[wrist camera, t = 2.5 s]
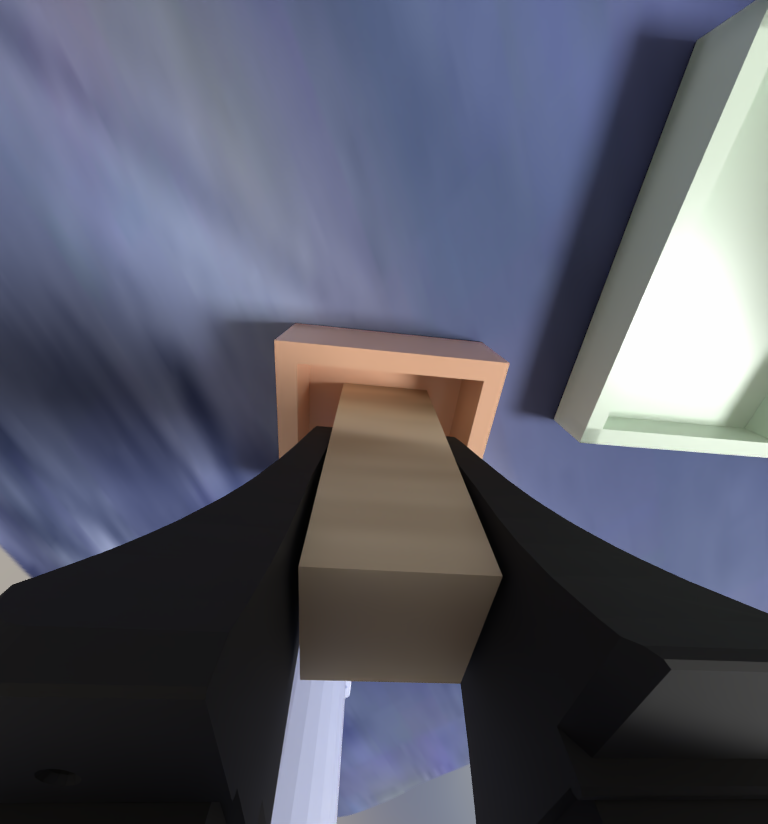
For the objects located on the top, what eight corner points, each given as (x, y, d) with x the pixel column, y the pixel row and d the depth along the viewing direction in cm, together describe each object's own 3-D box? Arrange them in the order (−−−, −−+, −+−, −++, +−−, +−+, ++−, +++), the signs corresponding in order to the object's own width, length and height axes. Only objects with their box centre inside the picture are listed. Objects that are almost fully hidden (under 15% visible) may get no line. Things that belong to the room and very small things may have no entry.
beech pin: (414, 459, 13) (460, 683, 6) (339, 453, 13) (300, 680, 6) (426, 389, 11) (502, 576, 5) (343, 382, 11) (298, 566, 4)
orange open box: (446, 487, 14) (460, 532, 12) (297, 477, 14) (281, 522, 11) (481, 342, 11) (509, 362, 9) (295, 322, 11) (274, 339, 9)
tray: (733, 435, 13) (783, 458, 12) (553, 419, 13) (579, 442, 11) (964, 88, 9) (1099, 49, 7) (696, 40, 8) (777, -15, 7)
